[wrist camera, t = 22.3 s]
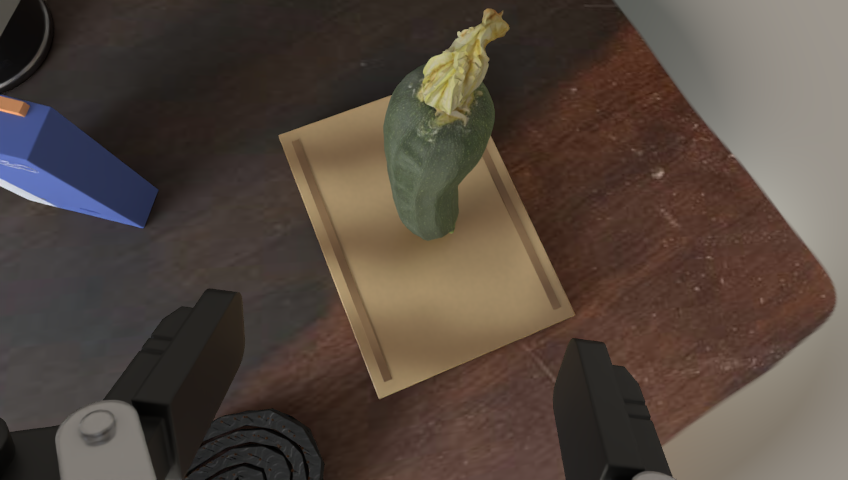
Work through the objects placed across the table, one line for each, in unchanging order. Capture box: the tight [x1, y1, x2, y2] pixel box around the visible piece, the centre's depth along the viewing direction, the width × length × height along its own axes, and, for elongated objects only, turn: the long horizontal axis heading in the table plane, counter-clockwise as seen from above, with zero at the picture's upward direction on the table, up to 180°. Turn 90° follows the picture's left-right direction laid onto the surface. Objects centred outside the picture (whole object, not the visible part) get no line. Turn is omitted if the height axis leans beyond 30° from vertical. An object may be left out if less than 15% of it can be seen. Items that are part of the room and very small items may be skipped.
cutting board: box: [279, 95, 575, 399], centre depth 36 cm, size 18×13×2 cm
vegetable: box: [383, 9, 510, 241], centre depth 26 cm, size 4×4×20 cm
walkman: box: [0, 95, 158, 228], centre depth 31 cm, size 8×3×12 cm, turn 76°
